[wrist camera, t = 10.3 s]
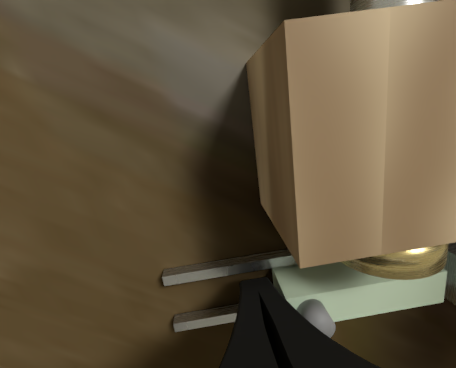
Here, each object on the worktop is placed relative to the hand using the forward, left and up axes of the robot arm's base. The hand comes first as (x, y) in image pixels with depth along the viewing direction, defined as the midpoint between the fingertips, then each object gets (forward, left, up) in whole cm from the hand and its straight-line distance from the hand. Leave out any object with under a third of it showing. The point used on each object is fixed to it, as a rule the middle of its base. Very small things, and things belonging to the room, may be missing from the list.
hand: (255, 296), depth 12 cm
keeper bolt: (-5, 0, -1) cm, 5 cm away
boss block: (-5, -7, -1) cm, 9 cm away
